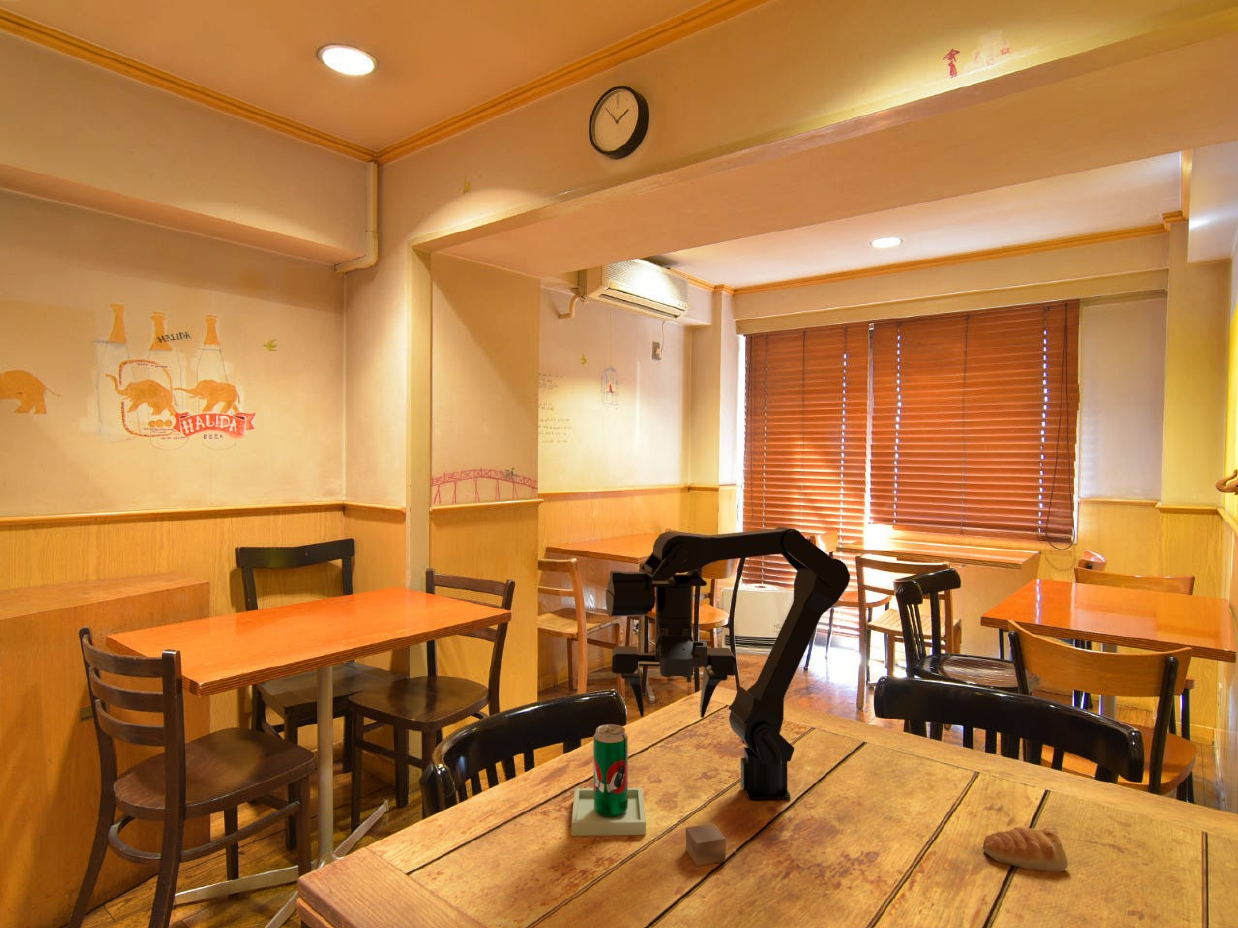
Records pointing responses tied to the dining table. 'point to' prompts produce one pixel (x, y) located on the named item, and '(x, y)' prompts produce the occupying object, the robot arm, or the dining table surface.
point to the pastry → (1027, 849)
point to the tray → (597, 825)
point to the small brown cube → (705, 844)
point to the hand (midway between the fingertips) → (672, 716)
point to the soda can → (610, 770)
